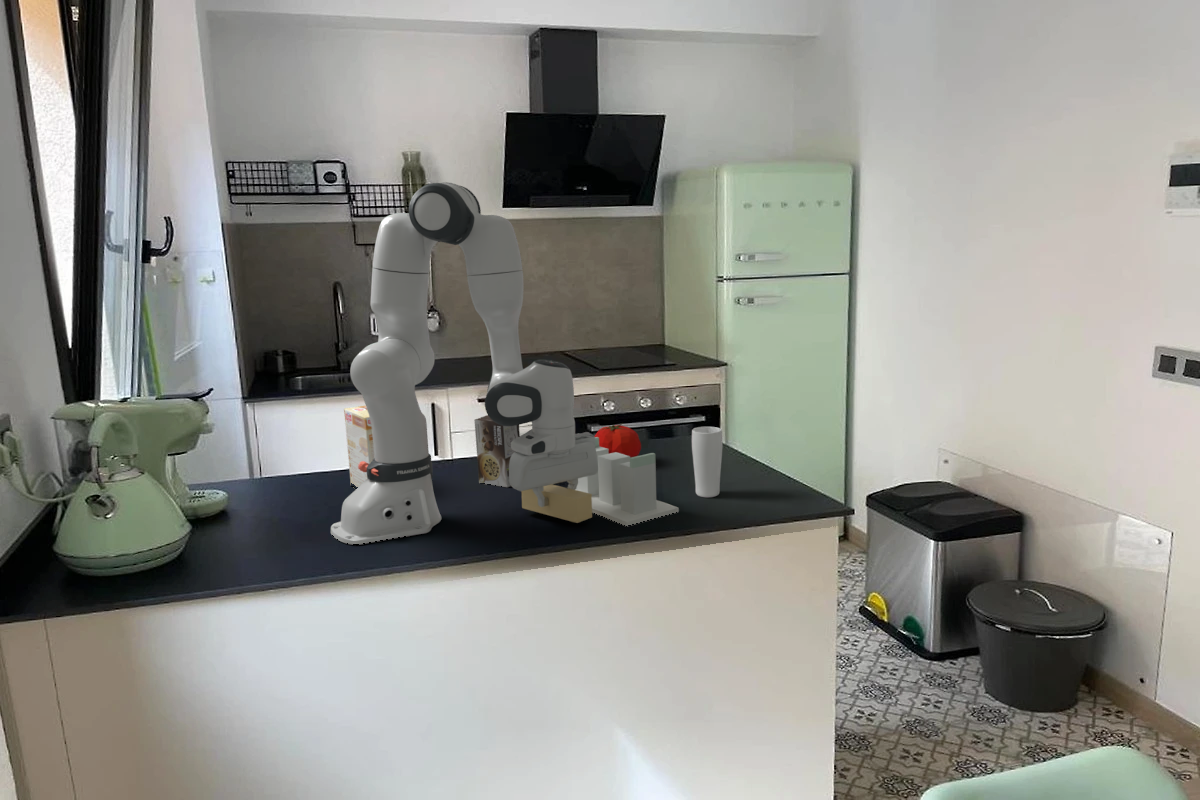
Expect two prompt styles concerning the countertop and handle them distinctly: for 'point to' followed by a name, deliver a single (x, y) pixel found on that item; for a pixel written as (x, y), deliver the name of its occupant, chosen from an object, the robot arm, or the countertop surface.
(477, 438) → the coffee box
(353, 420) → the coffeecake box
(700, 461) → the drinking glass
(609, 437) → the tomato
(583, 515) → the tan wooden plank
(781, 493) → the countertop surface
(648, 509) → the display stand
